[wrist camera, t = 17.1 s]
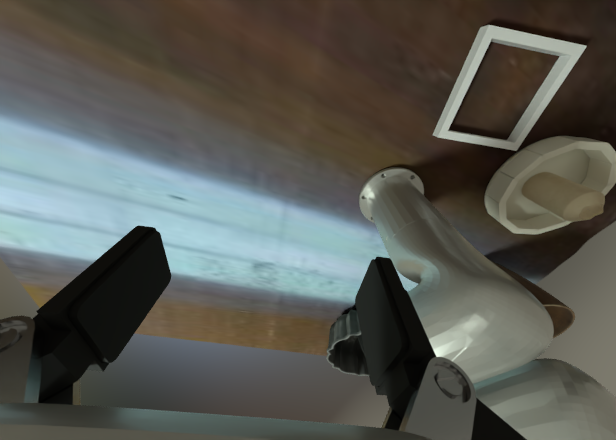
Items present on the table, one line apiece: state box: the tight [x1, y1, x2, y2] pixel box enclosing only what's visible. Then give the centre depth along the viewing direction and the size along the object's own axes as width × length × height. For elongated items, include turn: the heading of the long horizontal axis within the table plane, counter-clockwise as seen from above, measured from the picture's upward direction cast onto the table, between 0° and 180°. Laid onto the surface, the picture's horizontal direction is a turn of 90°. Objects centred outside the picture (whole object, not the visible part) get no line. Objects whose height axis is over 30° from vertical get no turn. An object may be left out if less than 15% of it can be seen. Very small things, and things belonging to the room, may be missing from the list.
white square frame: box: [433, 25, 587, 151], centre depth 34 cm, size 14×14×2 cm
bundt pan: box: [327, 310, 369, 376], centre depth 65 cm, size 26×26×10 cm
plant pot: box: [491, 261, 575, 338], centre depth 49 cm, size 15×15×16 cm
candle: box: [522, 172, 605, 222], centre depth 38 cm, size 6×6×10 cm
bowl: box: [484, 136, 616, 234], centre depth 41 cm, size 18×18×4 cm
